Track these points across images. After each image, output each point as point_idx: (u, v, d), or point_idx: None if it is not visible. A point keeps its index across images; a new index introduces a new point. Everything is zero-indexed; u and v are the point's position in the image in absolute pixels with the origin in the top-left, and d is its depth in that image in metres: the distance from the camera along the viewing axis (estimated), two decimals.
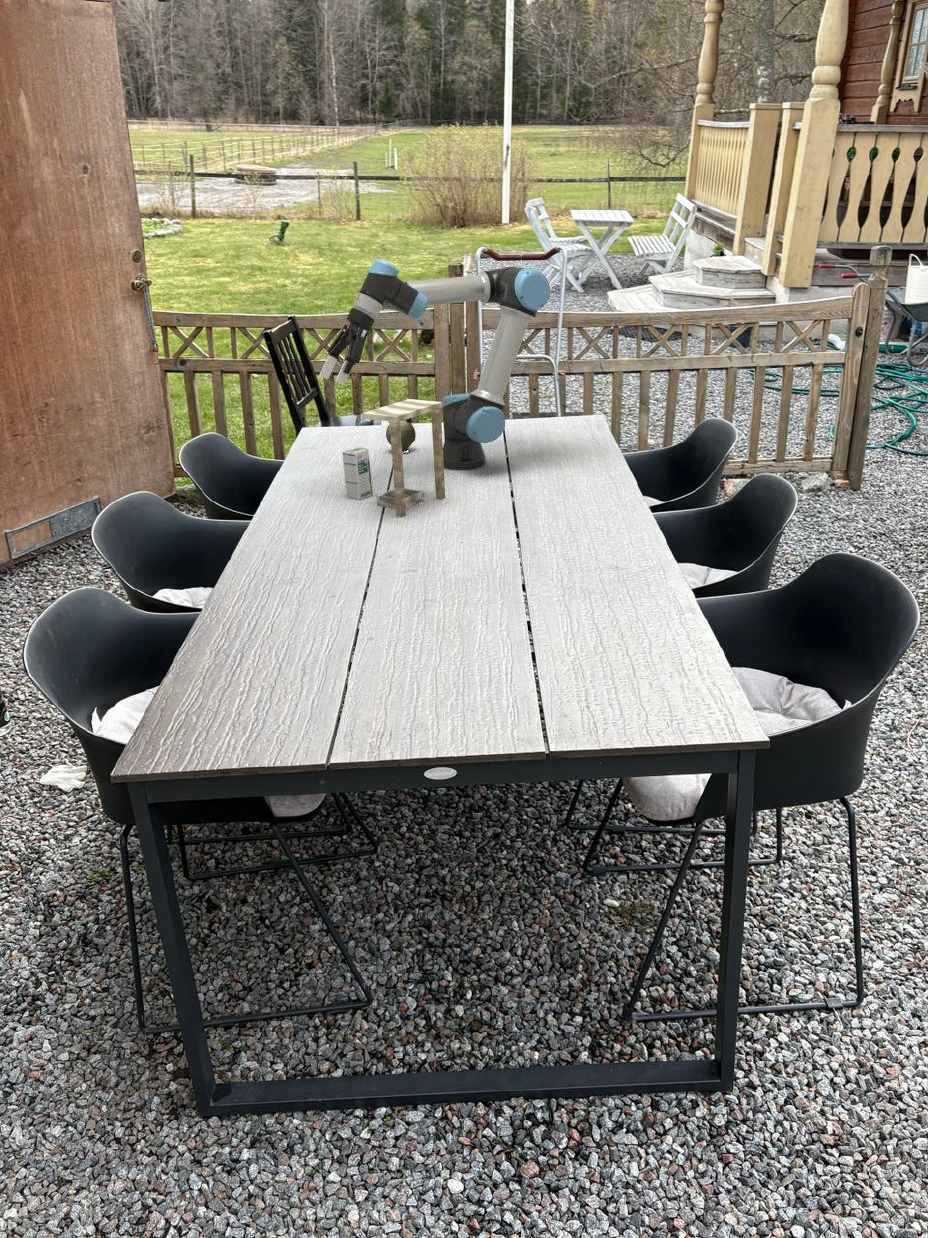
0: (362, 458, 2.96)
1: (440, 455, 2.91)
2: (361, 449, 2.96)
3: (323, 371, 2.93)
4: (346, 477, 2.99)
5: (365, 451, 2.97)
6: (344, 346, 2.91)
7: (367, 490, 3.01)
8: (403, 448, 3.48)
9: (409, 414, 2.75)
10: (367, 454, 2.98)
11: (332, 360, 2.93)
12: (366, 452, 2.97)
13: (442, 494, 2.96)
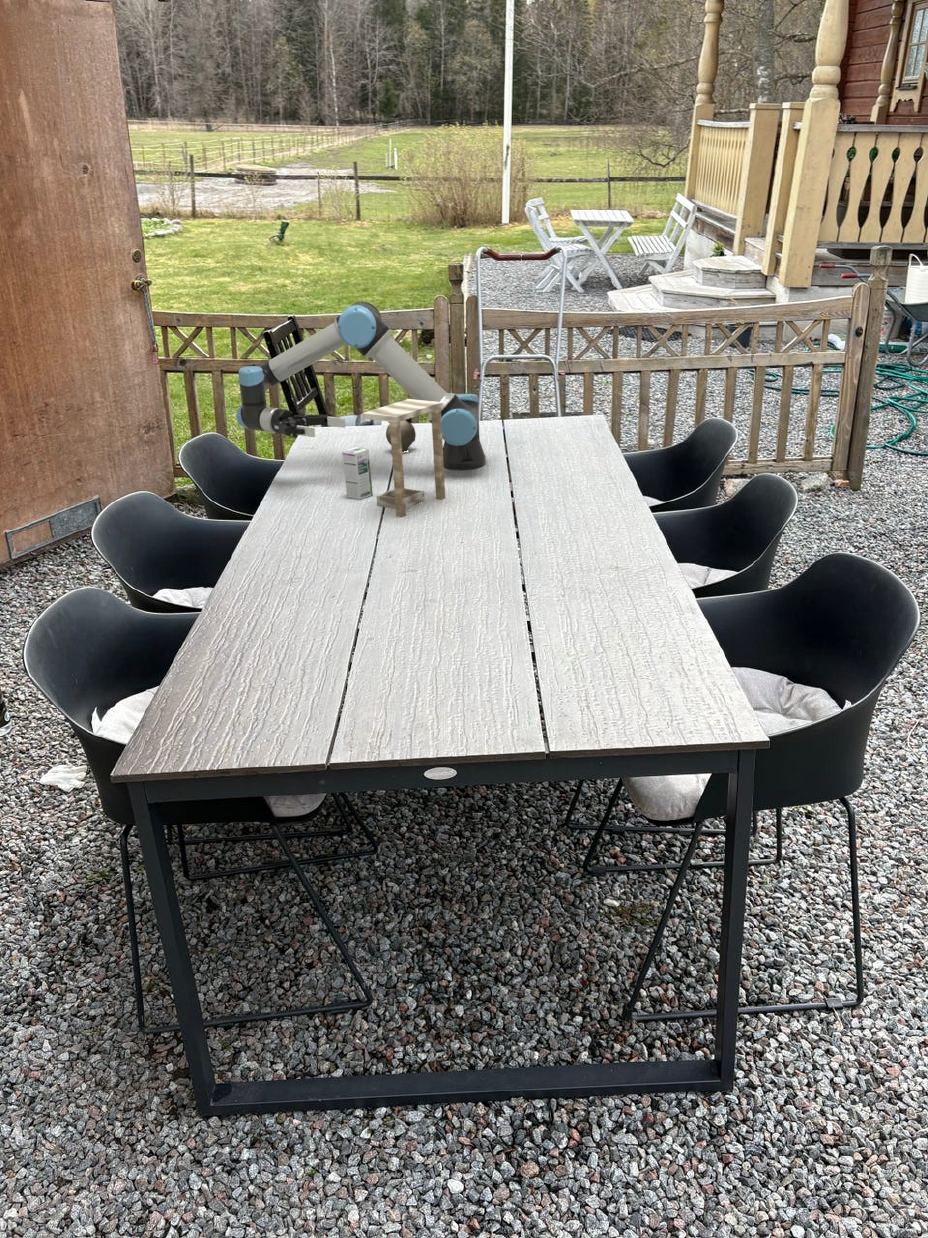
0: (362, 458, 2.96)
1: (440, 455, 2.91)
2: (361, 449, 2.96)
3: (340, 425, 3.06)
4: (346, 477, 2.99)
5: (365, 451, 2.97)
6: (312, 419, 3.08)
7: (367, 490, 3.01)
8: (403, 448, 3.48)
9: (409, 414, 2.75)
10: (367, 454, 2.98)
11: (329, 421, 3.08)
12: (366, 452, 2.97)
13: (442, 494, 2.96)
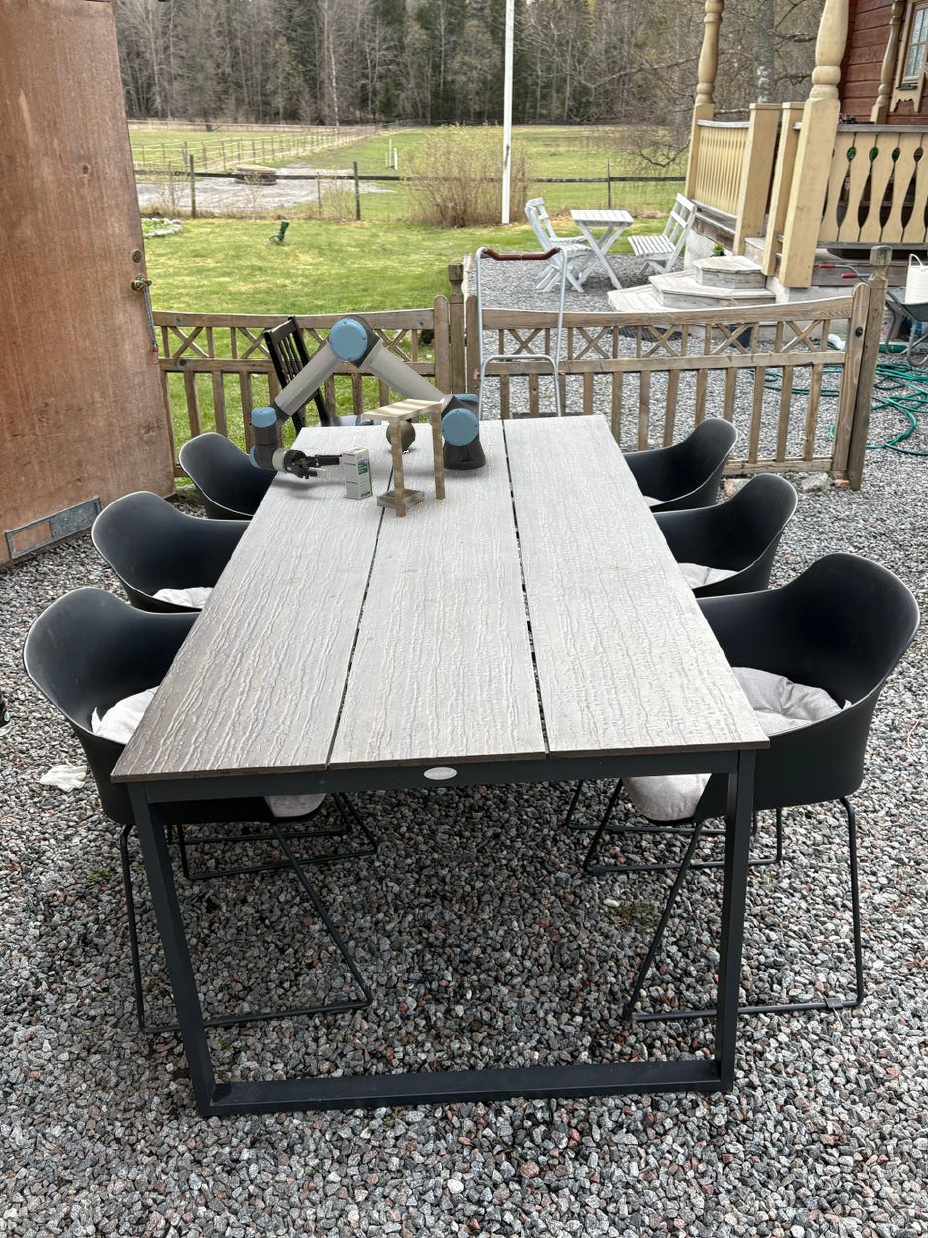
0: (362, 458, 2.96)
1: (440, 455, 2.91)
2: (361, 449, 2.96)
3: None
4: (346, 477, 2.99)
5: (365, 451, 2.97)
6: (324, 460, 3.11)
7: (367, 490, 3.01)
8: (403, 448, 3.48)
9: (409, 414, 2.75)
10: (367, 454, 2.98)
11: (341, 461, 3.10)
12: (366, 452, 2.97)
13: (442, 494, 2.96)
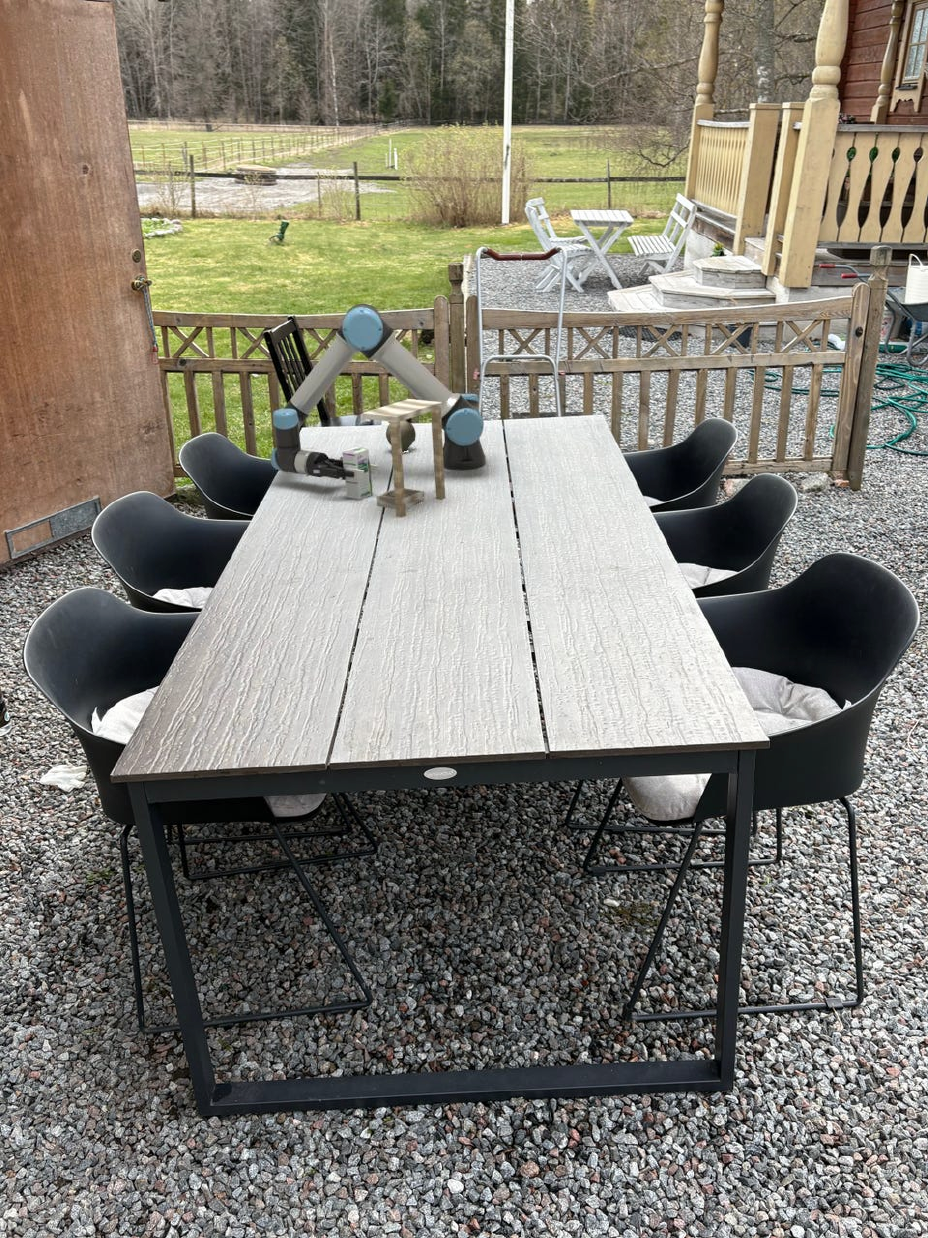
0: (362, 458, 2.96)
1: (440, 455, 2.91)
2: (361, 449, 2.96)
3: (373, 472, 3.00)
4: (346, 477, 2.99)
5: (365, 451, 2.97)
6: None
7: (367, 490, 3.01)
8: (403, 448, 3.48)
9: (409, 414, 2.75)
10: (367, 454, 2.98)
11: None
12: (366, 452, 2.97)
13: (442, 494, 2.96)
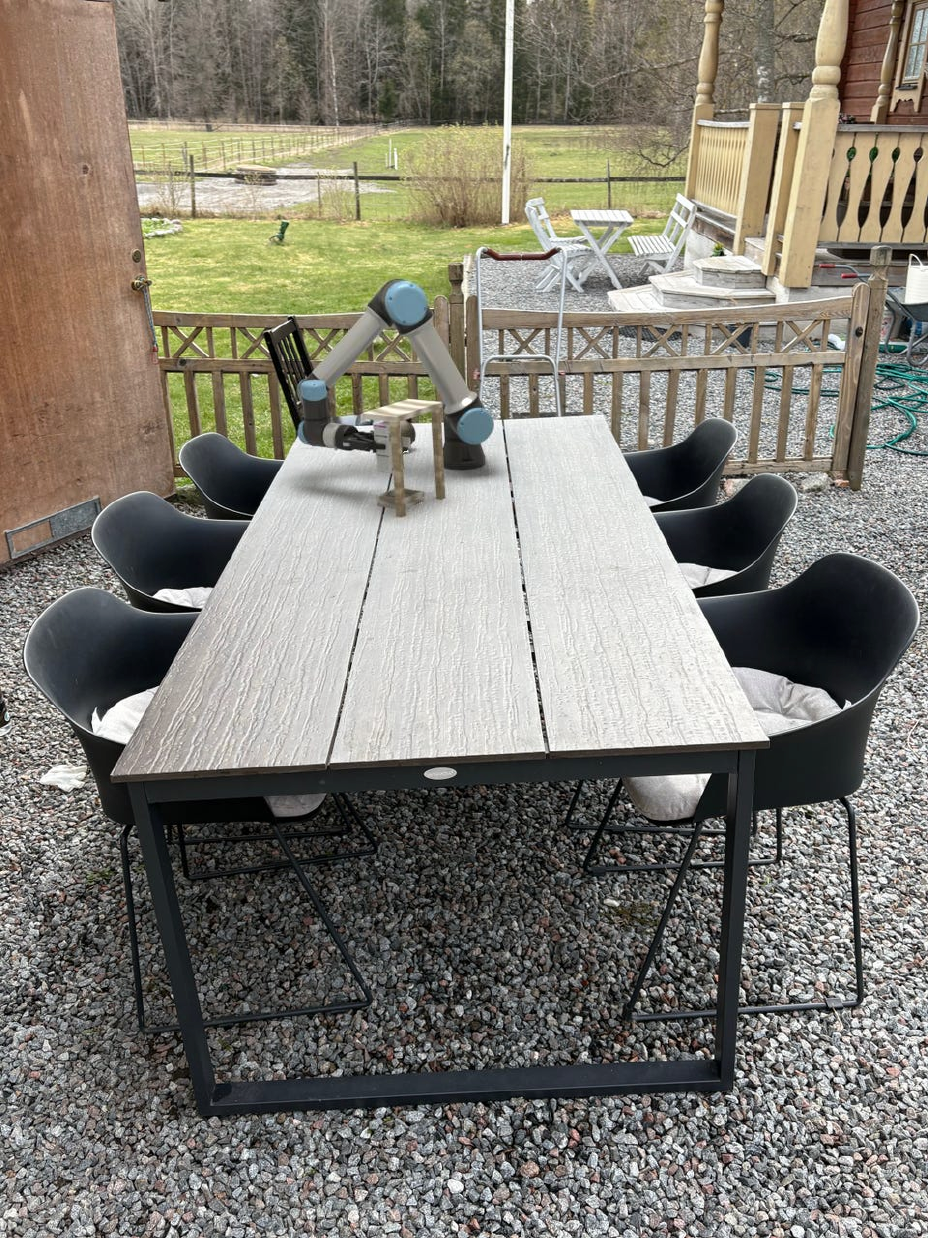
0: None
1: (440, 455, 2.91)
2: None
3: (405, 445, 2.89)
4: (377, 450, 2.88)
5: None
6: None
7: None
8: (403, 448, 3.48)
9: (409, 414, 2.75)
10: None
11: None
12: None
13: (442, 494, 2.96)
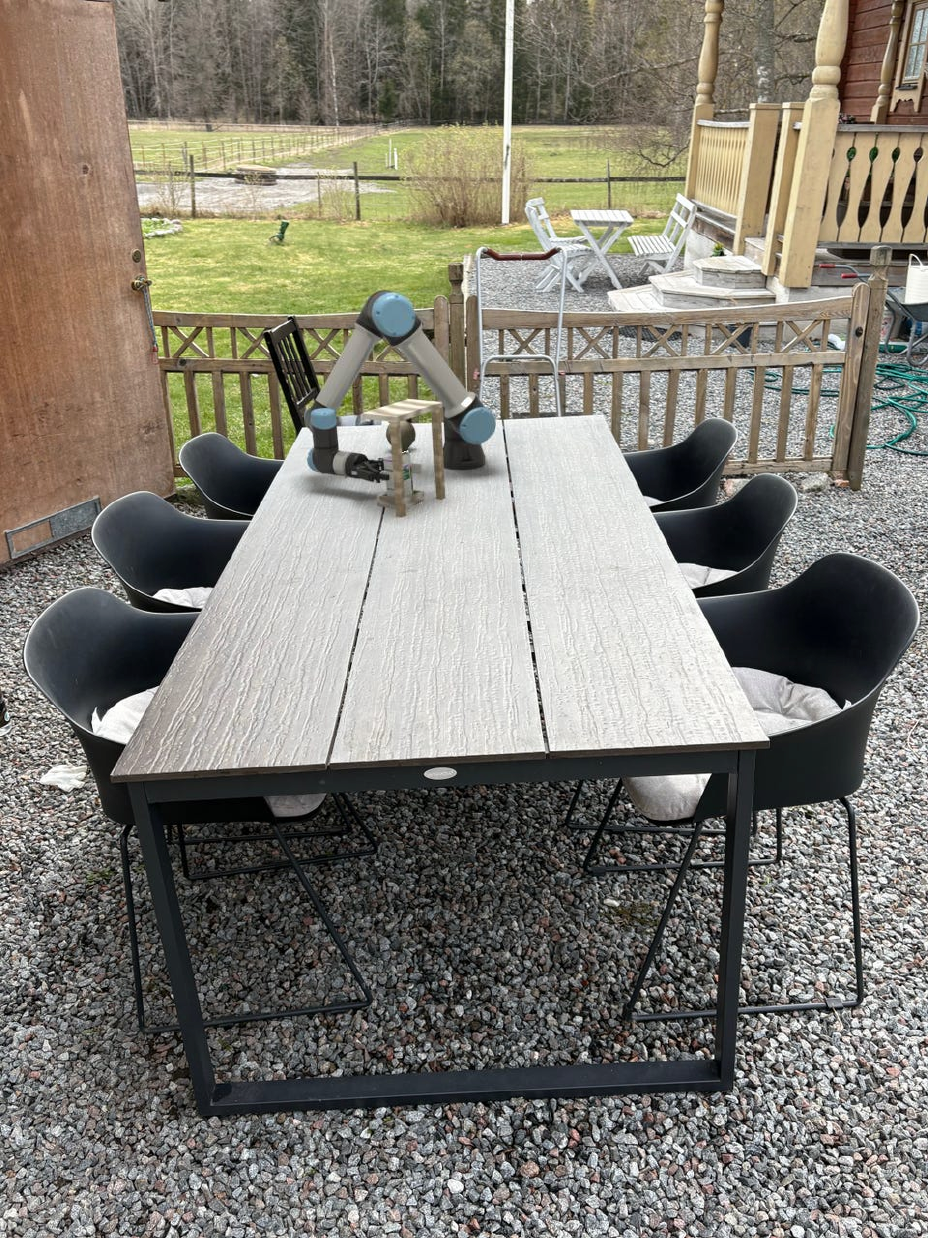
0: (404, 464, 2.88)
1: (440, 455, 2.91)
2: (403, 455, 2.88)
3: (417, 472, 2.93)
4: (387, 484, 2.91)
5: (407, 457, 2.88)
6: None
7: None
8: (403, 448, 3.48)
9: (409, 414, 2.75)
10: (409, 460, 2.89)
11: None
12: (408, 458, 2.89)
13: (442, 494, 2.96)
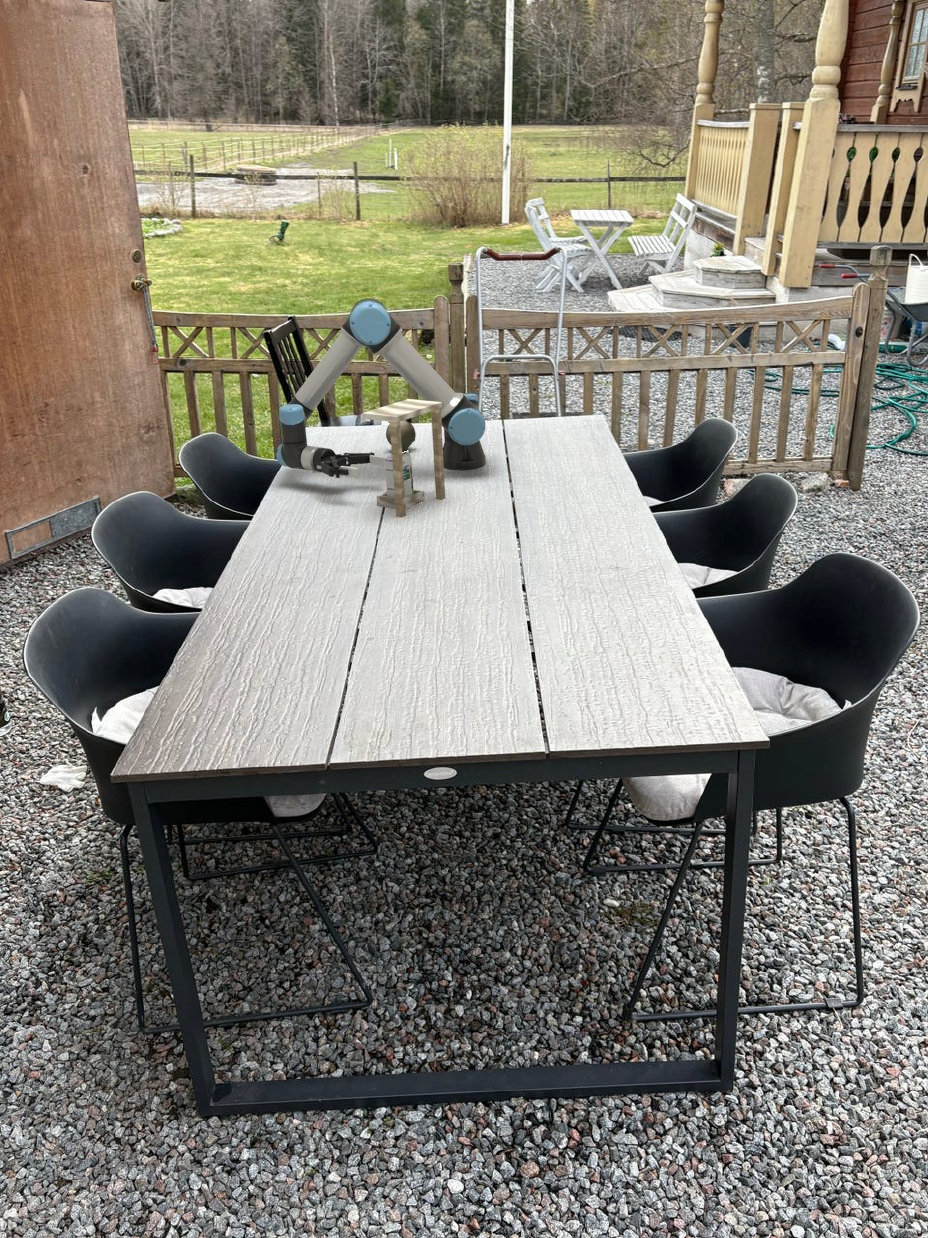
0: (405, 464, 2.88)
1: (440, 455, 2.91)
2: (403, 455, 2.88)
3: (382, 464, 3.02)
4: (388, 484, 2.91)
5: (408, 457, 2.88)
6: (354, 458, 3.04)
7: None
8: (403, 448, 3.48)
9: (409, 414, 2.75)
10: (409, 460, 2.89)
11: (372, 460, 3.03)
12: (409, 458, 2.89)
13: (442, 494, 2.96)
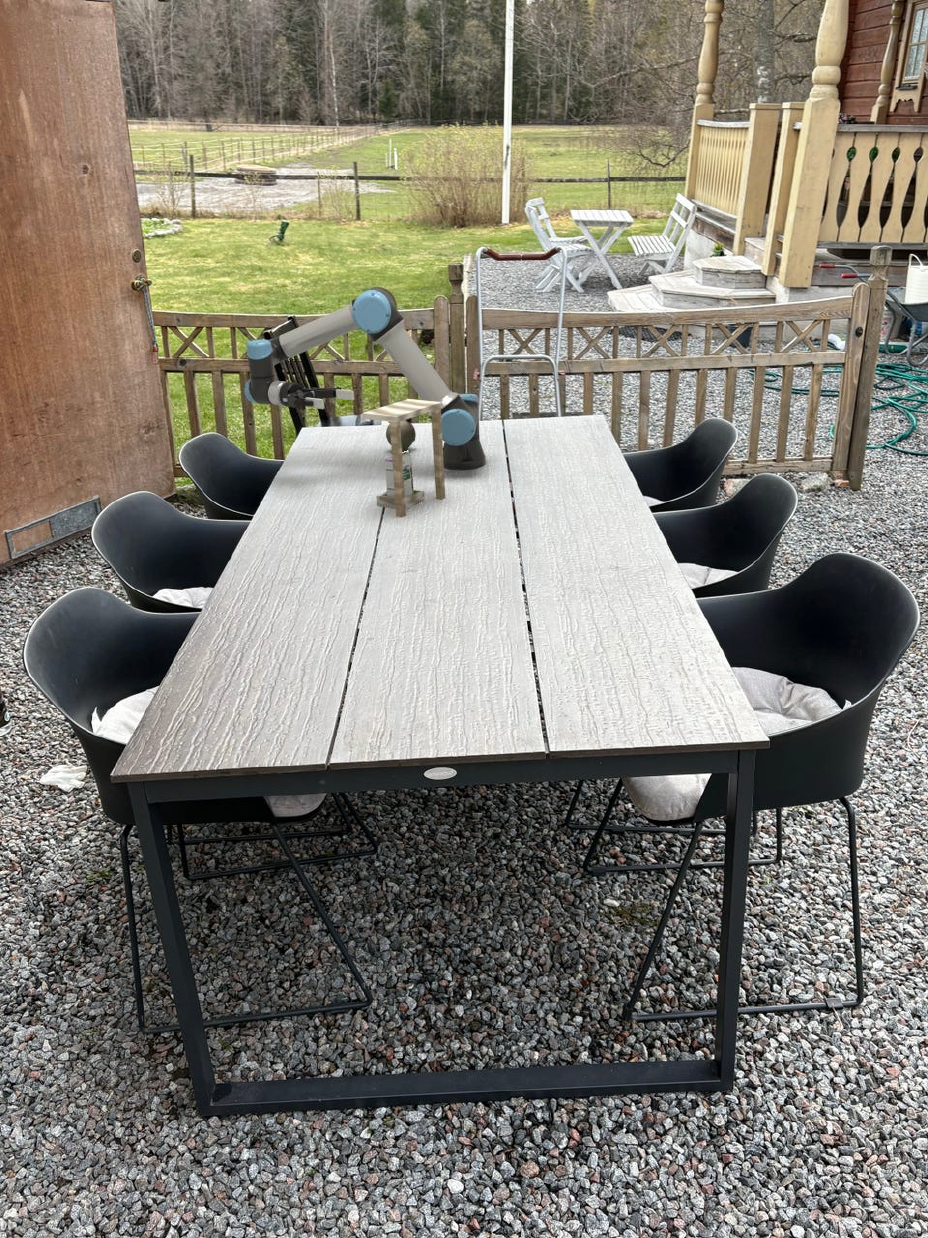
0: (405, 464, 2.88)
1: (440, 455, 2.91)
2: (403, 455, 2.88)
3: (348, 398, 3.04)
4: (388, 484, 2.91)
5: (408, 457, 2.88)
6: (320, 392, 3.06)
7: None
8: (403, 448, 3.48)
9: (409, 414, 2.75)
10: (409, 460, 2.89)
11: (338, 393, 3.06)
12: (409, 458, 2.89)
13: (442, 494, 2.96)
